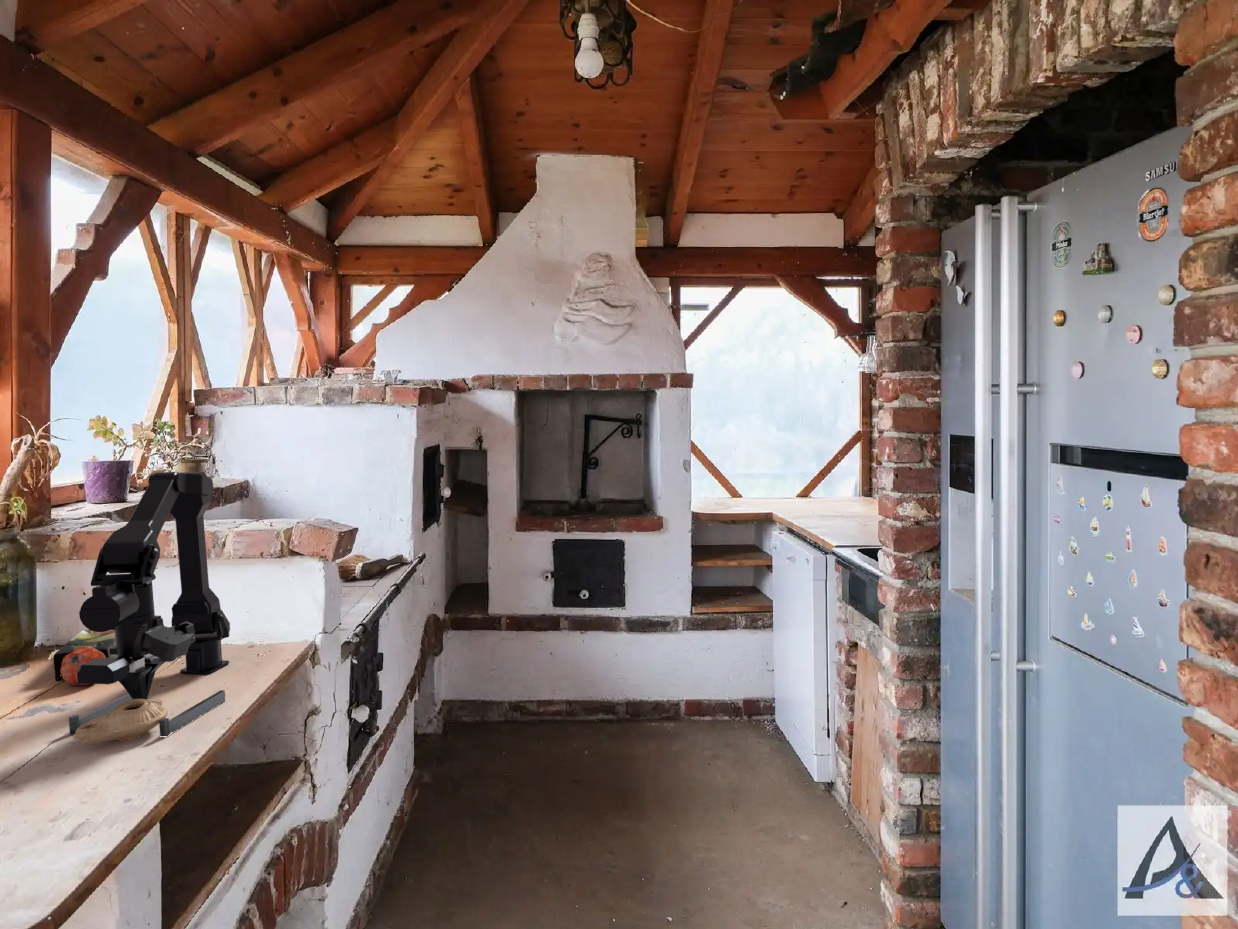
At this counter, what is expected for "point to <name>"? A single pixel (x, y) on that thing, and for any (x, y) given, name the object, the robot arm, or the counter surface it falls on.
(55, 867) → the counter surface
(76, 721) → the steel chute
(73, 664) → the red round fruit
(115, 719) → the pottery oil lamp
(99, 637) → the juice carton
